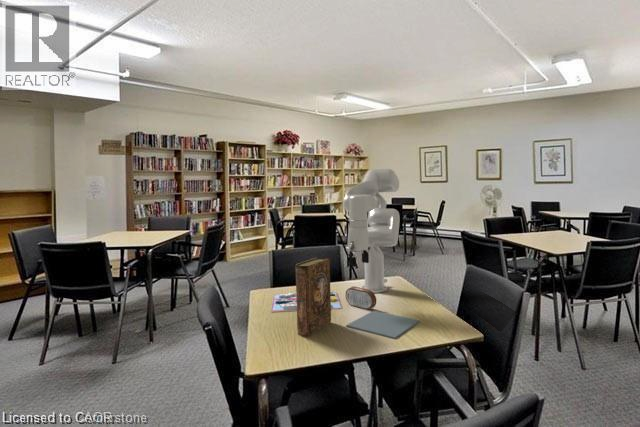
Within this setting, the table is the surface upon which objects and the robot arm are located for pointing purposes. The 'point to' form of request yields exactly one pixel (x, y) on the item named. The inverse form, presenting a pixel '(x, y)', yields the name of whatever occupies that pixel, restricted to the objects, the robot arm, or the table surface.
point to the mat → (383, 324)
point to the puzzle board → (290, 302)
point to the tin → (361, 297)
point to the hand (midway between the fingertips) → (359, 264)
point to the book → (313, 295)
